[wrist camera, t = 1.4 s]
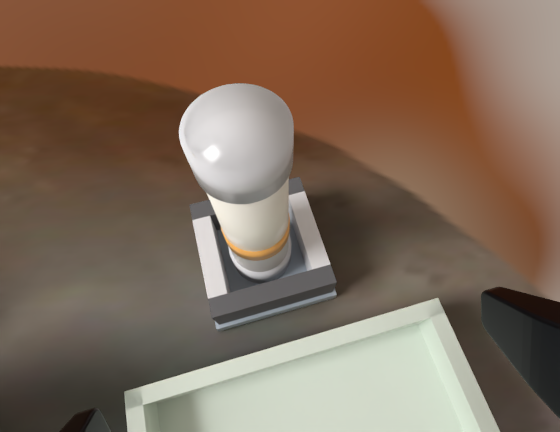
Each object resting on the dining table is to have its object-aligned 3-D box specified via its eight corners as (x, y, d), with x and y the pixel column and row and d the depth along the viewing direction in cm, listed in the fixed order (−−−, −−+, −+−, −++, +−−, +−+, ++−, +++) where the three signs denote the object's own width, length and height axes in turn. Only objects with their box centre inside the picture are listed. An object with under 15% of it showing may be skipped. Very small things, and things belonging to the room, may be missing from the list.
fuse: (303, 256, 22) (317, 129, 11) (258, 295, 21) (226, 198, 10) (265, 217, 23) (244, 66, 12) (220, 252, 22) (156, 124, 11)
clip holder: (335, 297, 22) (341, 284, 19) (219, 331, 21) (208, 323, 18) (300, 196, 25) (301, 173, 22) (197, 223, 24) (185, 202, 21)
